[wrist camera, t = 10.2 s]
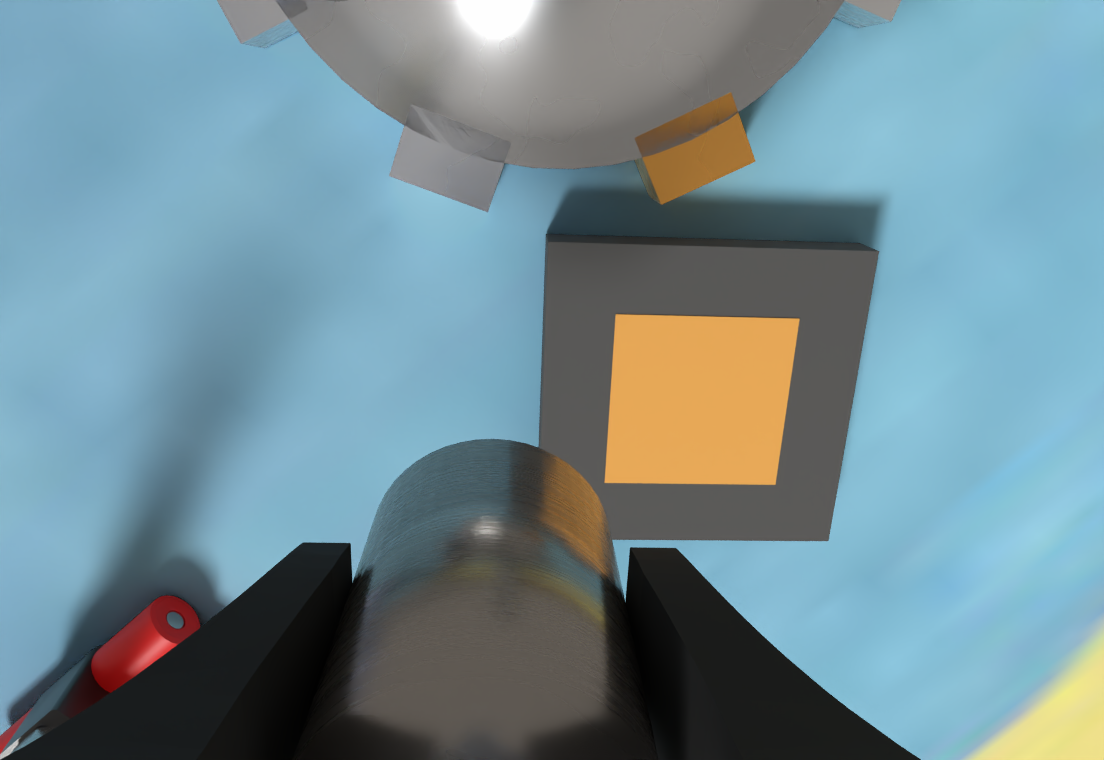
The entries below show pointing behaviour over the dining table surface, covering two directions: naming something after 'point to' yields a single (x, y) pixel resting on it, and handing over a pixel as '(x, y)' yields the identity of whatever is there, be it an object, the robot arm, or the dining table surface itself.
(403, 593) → the roller
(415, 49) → the sprocket
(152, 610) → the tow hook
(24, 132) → the dining table surface
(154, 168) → the dining table surface
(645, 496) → the pad
